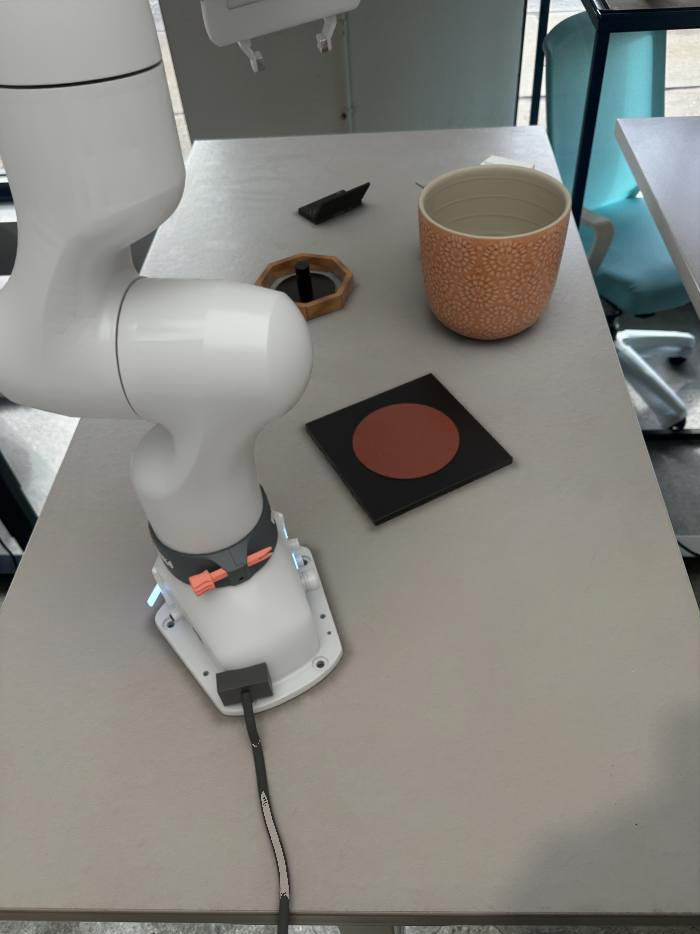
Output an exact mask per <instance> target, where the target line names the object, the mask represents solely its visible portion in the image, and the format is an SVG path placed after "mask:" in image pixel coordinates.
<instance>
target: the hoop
mask: <svg viewBox="0 0 700 934" xmlns="http://www.w3.org/2000/svg"><path fill="white" fill-rule="evenodd" d="M299 261H306V262H308V263H309V267H310V271H320V272H329V273H334V274H335V276H337V278H338V279H339V280H340V281H341V283H340V285H339V287H338V288H337V289H336V292H335V293H334V294H331V295H328V296H325V297H323V298H320V299H317V300H314V301H311V302H309V303H299V302H294V303H295V304H296V306H297V307H298V308H299V310H300V311H301V313H302V315H303V316H304V318H305V321H310V320H313V319H316V318H318V317H322V316H324V315H327V314H330V313H332V312H335V311H338V310H341V309H342V308H344V306H345V305H346V303H347V301H348V300H349V297H350V295H351V293H352V292H353V290H354V288H355V284H354V283H355V282H354V273H353V272H352V270H350V269H349V267H348V266H346V265H345V264H344V263H343V261H341V259H339V258H338V257H337V256H335V255H325V254H317V253H310V252H309V253H308V252H299V253H296V254H293V255H291V256H288V257H284V258H281V259H279V260H275V261H272V262H270V263H268V264H267V265H266V267H265V268H264V269H263V270H262V272H261V274H260V275H259V277H258V278H257V279H256V280H255V282H254V285H256V286H260V287H264V288H268V289H270V288H271V286H272V284H273V283H274V281H275V280H276V279H278V278H281V277H285V276H287V275H291V274H293V273H295V268H294V265H295V263H297V262H299Z"/></svg>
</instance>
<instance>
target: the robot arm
mask: <svg viewBox="0 0 700 934" xmlns="http://www.w3.org/2000/svg"><path fill="white" fill-rule="evenodd" d="M199 1H200V8H201V14H202V19H203V23H204V27H205V31H206V33H207V35H208V38H209V40H210V41H211V42H212V43H213V44H214V45H216V46H217V47H219V48H222V47H226V46H229V45H234V44H236V43H237V44H238V46H239V48H240V50H241V51H242V52H243V53H244V55H246V56H247V58H248V59H249V61H250V65H251V68H252V71H253V72H254V73H258V72H262V71H265V70H266V66H265V64H264V63H265V61H264V57H263V55H262V53H261V51H260V50H257V51H253V50H252V49H251V47H252V41H251V39H255V38H258V37H261V36H264V35H265V36H266V35H268V34H272V33H275V32H279V31H283V30H286V29H290V28H293V27H296V26H297V27H298V26H301V25H303V24H308V23H311V22H314V21H318V20H322V19H323V21H324V23H323V26H322V30H321V32H320V33H316V34H315V37H316V41H317V44H316V45H317V49H318V51H319V52H320V53H321V54H325V53H328V52H331V51H333V48H332V47H333V46H332V39H331V38H332V37H333V34H334V32H335V29H336V26H337V24H338V20H337V15H339V14H343V13H347V12H350V11H353V10H356V9H357V8H359V5H360V3H361V1H362V0H199ZM156 26H157V25H156V22H155V18H154V14H153V11H152V7H151V4H150V0H0V159H1V162H2V166H3V169H4V172H5V176H6V178H7V183H8V185H9V189H10V193H11V197H12V200H13V205H14V211H15V216H16V225H17V247H16V256H15V261H14V265H13V268H12V270H11V273H10V275H9V278H8V279H7V281H6V282H5V284H3V286H2V287H1V289H0V393H1V394H2V395H3V396H4V397H5V398H6V399H7V400H8V401H10V402H12V403H15V404H17V405H21V406H23V407H28V408H31V409H35V410H38V411H42V412H47V413H51V414H54V415H59V416H64V417H68V418H74V419H75V418H76V419H77V418H79V419H80V418H81V419H99V420H100V419H101V420H103V419H105V420H126V421H145V422H151V423H155V425H153V426H151V428H150V429H149V430H148V431H147V432H146V433H145V434H144V435H143V436H141V438H140V439H139V441H138V442H137V444H136V446H135V447H134V449H133V451H132V455H131V459H130V465H129V478H130V483H131V486H132V488H133V491H134V493H135V495H136V497H137V499H138V501H139V503H140V505H141V508H142V509H143V512H144V514H145V516H146V518H147V520H148V521H147V524H148V526H147V527H148V531H149V535H150V538H151V542H152V544H153V547H154V548H155V551H156V553H157V557H156V559H155V561H154V564H153V566H152V569H151V573H152V576H153V578H154V580H155V582H156V585H155V587H154V588H153V591H152V592H151V593H150V596H149V597H148V600H146V601H147V604H148V605H149V607H153V606H154V604H155V602H156V600H157V598H158V597H159V595H160V593H161V595H162V596H163V599H164V603H162V605H161V606H160V608H159V609H158V610H157V612H156V614H155V616H154V622H155V626H156V628H157V629H158V631H159V632H160V633H161V635H162V636H163V638H164V639H165V640H166V642H167V643H168V644H169V646H170V647H171V648H172V650H173V651H174V652H175V653H176V655H177V657H178V658H179V659H180V661H181V662H182V663H183V664H184V665H185V667H186V668H187V670H188V671H189V672H190V673H191V675H192V676H193V678H194V679H195V680H196V682H197V683H198V684H199V686H200V688H202V690H203V691H204V692H205V694H206V695H207V696H208V698H209V699H210V700H211V702H212V703H213V704H214V706H215V707H216V708H217V710H218V712H220V713H221V714H223V715H224V716H235V717H238V716H239V717H240V716H244V722H245V727H246V731H247V734H248V735H247V736H248V738H249V741H250V745H251V750H252V755H253V760H254V768H255V775H256V776H255V777H256V784H257V792H258V798H259V803H260V804H259V805H260V809H261V814H262V818H263V822H264V826H265V830H266V832H267V836H268V838H269V842H270V845H271V848H272V852H273V855H274V858H275V864H276V869H277V876H278V884H279V888H280V872H279V866H278V861H277V857H276V853H275V849H274V846H273V843H272V840H271V836H270V833H269V830H268V827H267V824H266V820H265V816H264V812H263V807H262V801H261V794H262V792H263V791H264V793H265V795H266V797H267V800H268V804H269V808H270V812H271V816H272V820H273V823H274V826H275V829H276V832H277V835H278V838H279V842H280V845H281V848H282V852H283V856H284V860H285V865H286V872H287V878H288V885H289V894H290V895H291V880H290V871H289V865H288V861H287V855H286V852H285V848H284V844H283V842H282V838H281V835H280V832H279V829H278V825H277V823H276V820H275V817H274V812H273V809H272V803H271V798H270V793H269V792H270V791H269V786H268V778H267V771H266V764H265V758H264V757H265V756H264V752H263V747H262V742H261V738H260V735H259V732H258V728H257V723H256V719H255V714H257V713H262V712H263V711H267V710H270V709H273V708H275V707H277V706H280V705H282V704H284V703H286V702H288V701H291V700H293V699H294V698H296V697H298V696H300V695H301V694H303V693H305V692H307V691H308V690H310V689H311V688H313V687H314V686H316V685H317V684H319V683H320V682H321V681H322V680H323V679H325V678H326V677H327V676H328V675H329V674H330V673H332V671H333V670H334V669H335V667H336V666H337V665H338V664H339V662H340V661H341V659H342V658H343V656H344V649H343V644H342V642H341V639H340V635H339V633H338V629H337V627H336V623H335V620H334V617H333V613H332V611H331V608H330V605H329V602H328V598H327V595H326V592H325V589H324V587H323V584H322V581H321V577H320V574H319V571H318V568H317V565H316V562H315V559H314V556H313V553H312V551H311V550H310V548H308V547H306V546H302V545H300V541H299V538H298V537H293V538H290V539H289V536H288V532H287V528H286V523H285V518H284V514H283V513H282V512H278V510H273V506H272V504H271V502H270V498H269V497H268V495H267V493H266V491H265V489H264V487H263V485H262V483H260V481H259V478H258V473H257V468H256V462H255V461H256V460H255V454H254V447H255V446H254V445H255V442H256V440H257V438H258V436H259V435H260V434H261V432H262V431H263V430H264V429H265V428H267V426H269V425H270V424H271V423H274V422H275V421H276V420H278V419H280V418H282V417H284V416H285V415H287V414H288V413H289V412H290V411H291V410H292V409H293V408H294V407H295V406H296V405H297V404H298V402H299V401H300V400H301V398H302V396H303V395H304V393H305V391H306V389H307V388H308V385H309V382H310V379H311V376H312V372H313V367H314V366H313V365H314V344H313V338H312V334H311V331H310V329H309V325H308V323H307V320H305V318H304V316H303V315H302V313H301V311H300V310H299V308H298V307H297V306H296V304H295V303H294V302H293V301H292V300H291V299H290V297H289V296H288V295H287V294H285V293H284V292H280V291H276V289H272V288H269V289H268V288H264V287H260V286H256V285H255V284H251V283H247V282H242V281H237V280H233V279H228V278H191V277H190V278H189V277H188V278H186V277H148V276H144V275H140V274H139V273H138V272H137V269H136V268H135V265H134V263H133V258H132V252H131V245H132V244H134V243H136V242H138V241H139V240H141V239H143V238H145V237H146V236H148V235H150V234H151V233H153V232H154V231H155V230H156V229H158V228H159V227H161V226H162V225H163V224H164V223H165V222H167V221H168V220H169V219H170V218H171V217H172V216H173V214H174V213H175V212H176V210H177V209H178V207H179V206H180V203H181V201H182V198H183V196H184V192H185V188H186V187H185V186H186V180H187V179H186V178H187V171H186V166H185V162H184V161H185V160H184V155H183V151H182V147H181V146H182V145H181V142H180V136H179V131H178V125H177V121H176V117H175V111H174V107H173V103H172V97H171V92H170V88H169V83H168V77H167V73H166V67H165V63H164V59H163V54H162V53H163V52H162V48H161V44H160V39H159V35H158V31H157V27H156ZM170 626H171V627H170ZM320 665H323V666H322V667H318V666H320ZM259 740H260V742H259ZM251 743H252V744H254V745H255V746H257V747H254V746H253V745H252V744H251ZM258 743H259V744H258ZM263 799H265V797H264V798H263ZM264 801H266V799H265V800H264ZM265 803H267V802H265ZM265 803H264V804H265ZM264 804H263V805H264ZM265 806H266V805H265ZM281 894H282V893H281ZM284 894H286V892H285V893H283V894H282V896H281V899H280V898H279V901H280V902H278V915H277V927H276V928H277V929H276V934H289V925H290V924H289V923H290V910H291V907H290V908H289V899H288V897H287V896H286V895H285V896H284Z"/></svg>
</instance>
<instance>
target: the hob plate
mask: <svg viewBox="0 0 700 934" xmlns="http://www.w3.org/2000/svg"><path fill="white" fill-rule="evenodd" d="M304 426H305V430H306V431H307V432H308V434H309V436H310V437H311V438H312V440H313V441H314V442H315V443H316V445H317V446H318V448H319V449H320V450H321V452H322V453H323V455H324V456H325V458H326V459H327V460H328V461H329V463H330V464H331V466H332V467H333V468H334V470H335V472H336V473H337V474H338V476H339V478H341V479H342V481H343V482H344V484H345V485H346V487H347V488H348V489H349V491H350V492H351V493H352V495H353V497H354V498H355V499H356V501H357V502H358V503H359V505H360V506H361V507H362V509H363V510H364V511H365V513H366V514H367V515H368V518H370V520H371V521H372V523H373V524H374V526H379V525H381V524H383V523H387V522H388V521H390V520H392V519H394V518H396V517H399V516H400V515H403V514H405V513H408V512H410V511H411V510H414V509H417V508H418V507H420V506H423V505H425V504H427V503H429V502H431V501H433V500H436V499H437V498H439V497H442V496H444V495H446V494H448V493H450V492H453V491H455V490H457V489H459V488H462V487H464V486H465V485H467V484H471V483H472V482H474V481H476V480H480V479H482V478H483V477H485V476H487V475H489V474H492V473H494V472H496V471H498V470H500V469H502V468H504V467H507V466H508V465H511V464H513V462H514V457H513V456H512V455H511V454H510V453H509V452H508V451H507V450H506V449H505V448H504V447H503V446H502V445H501V444H500V443H499V441H498V440H496V438H495V437H494V436H493V435H492V434H491V433H490V432H489V431H488V430H487V429H486V428H485V427H484V425H482V424H481V423H480V422H479V420H477V419H476V418H475V417H474V416H473V414H471V413H470V411H469V410H468V409H467V408H466V407H464V405H463V404H462V403H461V402H460V401H459V400H458V399H457V398H456V397H455V396H454V395H453V394H452V393H451V392H450V390H448V388H446V387H445V386H444V385H443V383H442V382H440V380H438V378H436V376H435V374H433V373H432V372H430V373H428V374H424V375H422V376H420V377H418V378H415V379H412V380H410V381H408V382H405V383H402V384H400V385H398V386H396V387H393V388H390V389H388V390H385V391H383V392H380V393H378V394H376V395H373V396H371V397H368V398H366V399H363V400H360V401H358V402H355V403H353V404H351V405H348V406H346V407H343V408H341V409H338V410H335V411H334V412H330V413H328V414H326V415H323V416H321V417H319V418H316V419H313V420H311V421H309V422H305V425H304Z"/></svg>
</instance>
